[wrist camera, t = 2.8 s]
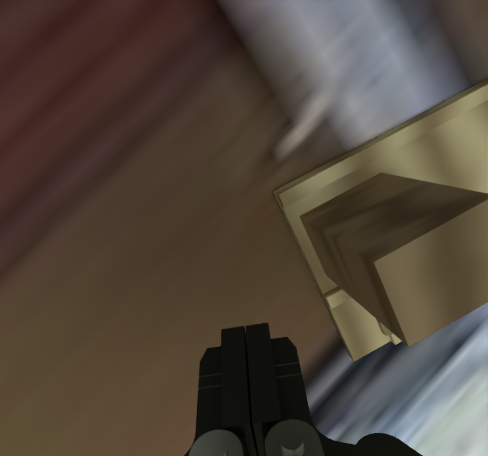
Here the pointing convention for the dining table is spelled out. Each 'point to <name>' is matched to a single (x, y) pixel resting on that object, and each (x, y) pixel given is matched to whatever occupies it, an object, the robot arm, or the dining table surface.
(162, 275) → the dining table surface
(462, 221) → the walnut block
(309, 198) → the tray
